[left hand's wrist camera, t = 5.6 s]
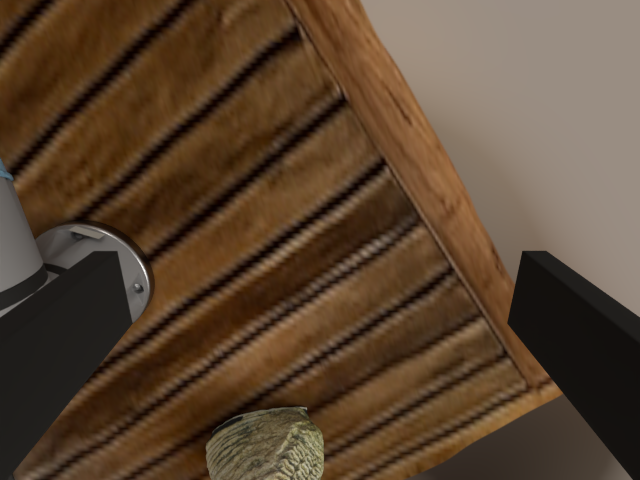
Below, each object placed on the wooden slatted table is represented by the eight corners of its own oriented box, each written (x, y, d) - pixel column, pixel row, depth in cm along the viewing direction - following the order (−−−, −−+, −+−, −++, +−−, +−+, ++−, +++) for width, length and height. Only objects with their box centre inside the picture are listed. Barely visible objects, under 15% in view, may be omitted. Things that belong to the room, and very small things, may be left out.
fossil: (332, 422, 59) (336, 525, 45) (234, 466, 62) (209, 574, 48) (302, 382, 56) (296, 479, 42) (201, 431, 60) (164, 535, 46)
